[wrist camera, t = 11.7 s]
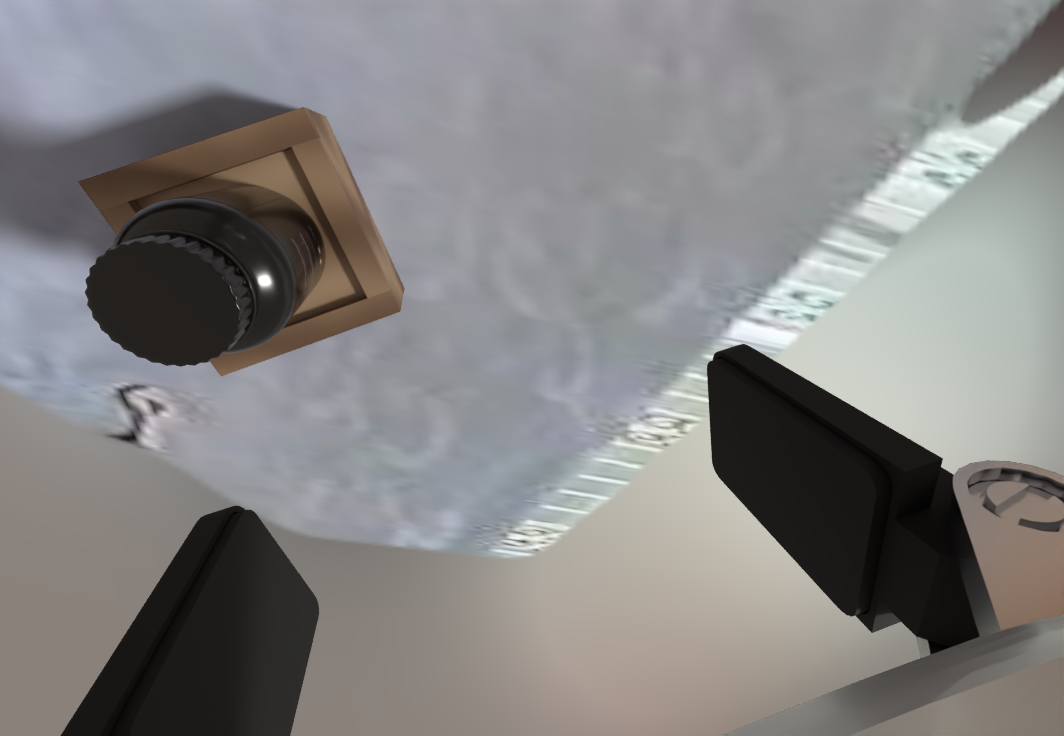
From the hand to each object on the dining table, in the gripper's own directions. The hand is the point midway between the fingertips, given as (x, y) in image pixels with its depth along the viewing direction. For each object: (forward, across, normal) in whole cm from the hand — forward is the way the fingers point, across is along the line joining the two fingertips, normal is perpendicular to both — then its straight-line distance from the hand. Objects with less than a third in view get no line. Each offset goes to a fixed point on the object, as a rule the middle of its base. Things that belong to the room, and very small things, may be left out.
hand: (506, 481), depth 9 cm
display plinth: (+28, +11, -4) cm, 30 cm away
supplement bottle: (+23, +10, -4) cm, 25 cm away
